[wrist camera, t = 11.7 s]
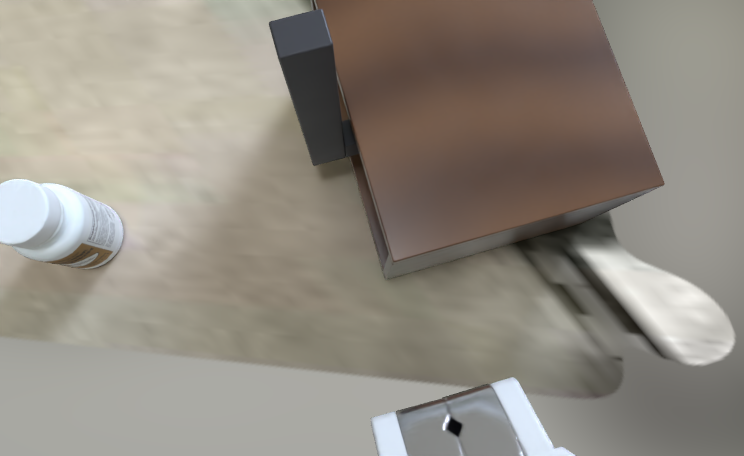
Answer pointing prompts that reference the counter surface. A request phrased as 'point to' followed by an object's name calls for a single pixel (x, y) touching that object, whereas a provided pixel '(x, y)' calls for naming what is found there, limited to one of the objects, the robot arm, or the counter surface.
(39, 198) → the pill bottle
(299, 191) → the counter surface
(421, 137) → the cupboard
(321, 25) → the sliding door
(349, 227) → the counter surface
